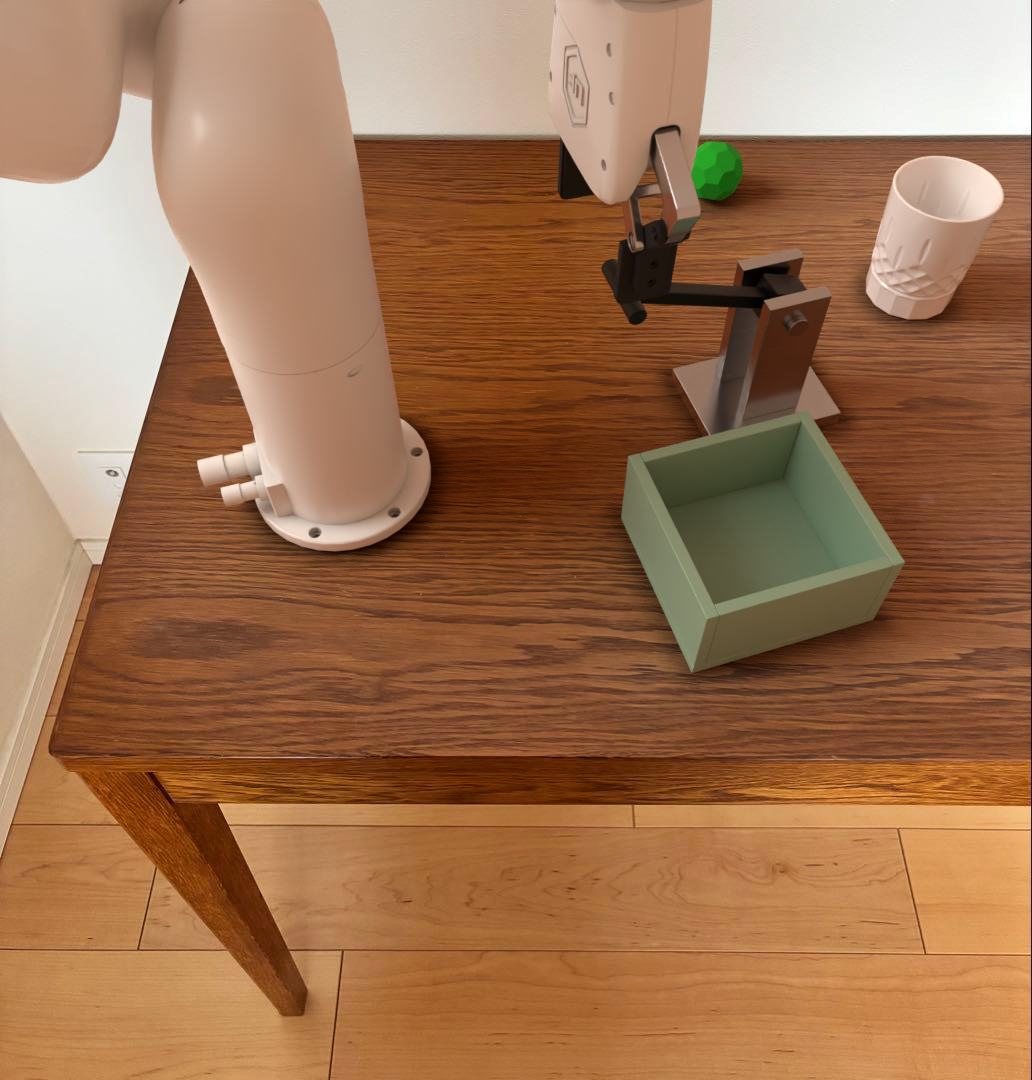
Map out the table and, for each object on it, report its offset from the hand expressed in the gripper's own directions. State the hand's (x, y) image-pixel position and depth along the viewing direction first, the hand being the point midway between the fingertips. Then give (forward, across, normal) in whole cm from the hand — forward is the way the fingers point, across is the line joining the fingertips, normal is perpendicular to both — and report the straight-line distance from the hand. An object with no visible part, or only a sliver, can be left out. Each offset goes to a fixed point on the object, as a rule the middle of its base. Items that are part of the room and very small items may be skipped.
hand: (610, 242), depth 58 cm
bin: (+18, +14, +6) cm, 23 cm away
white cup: (+17, -7, +30) cm, 35 cm away
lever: (+7, 0, +7) cm, 10 cm away
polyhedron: (+17, -24, +20) cm, 36 cm away
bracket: (+17, 0, +13) cm, 22 cm away
